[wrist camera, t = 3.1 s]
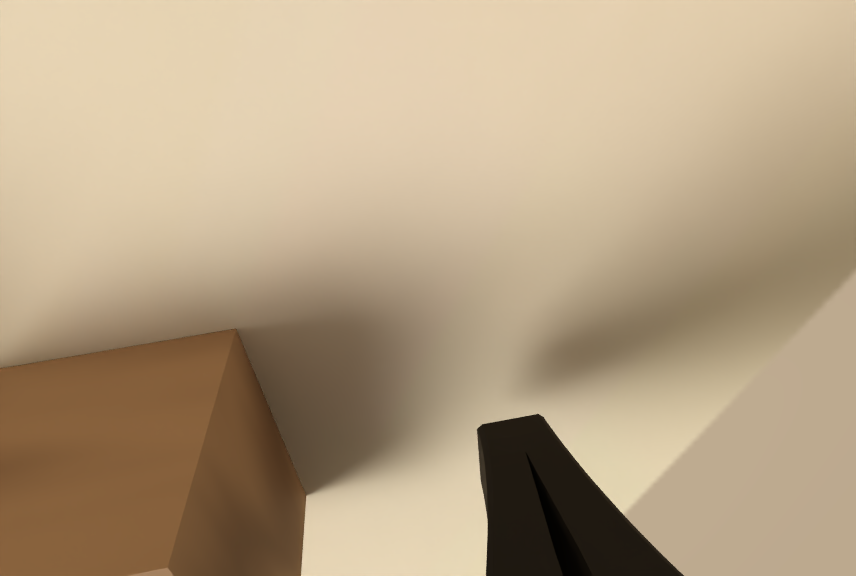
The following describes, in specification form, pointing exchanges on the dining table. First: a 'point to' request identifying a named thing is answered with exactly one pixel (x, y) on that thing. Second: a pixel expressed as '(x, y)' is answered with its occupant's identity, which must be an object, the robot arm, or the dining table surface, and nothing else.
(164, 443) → the walnut block
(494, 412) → the dining table surface
